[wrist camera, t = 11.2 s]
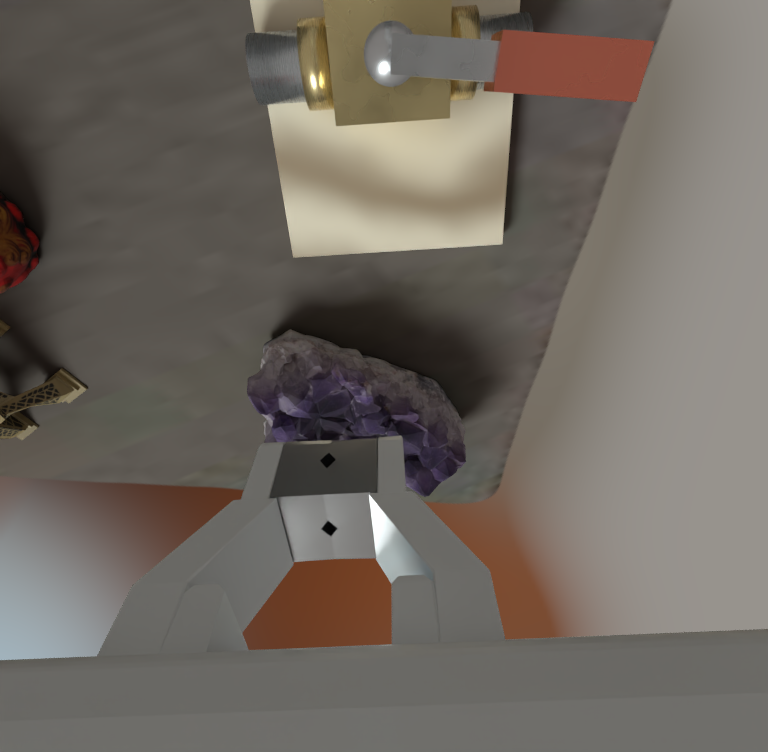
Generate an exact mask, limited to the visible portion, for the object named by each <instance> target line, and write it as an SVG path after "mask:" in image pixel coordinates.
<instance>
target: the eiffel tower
mask: <svg viewBox="0 0 768 752" xmlns="http://www.w3.org/2000/svg"><path fill="white" fill-rule="evenodd" d="M10 328H11V327H10V326H8V325H7V324H6V323H4V322H3V321H2V320H1V319H0V337H1V336H2V335H3V334H4V333H5V332H6V331H7V330H9V329H10ZM87 389H88V388H87V387H86V386H85V385H83V384H82V383H81V382H80V381H78V380H77V379H76V378H74V377H73V376H72V375H71V374H69V373H68V372H67V371H66V370H64V369H63V368H62V369H60V370H59V371H58V372H57V373H56V374H54V375H53V376H52V377H51V378H50V379H48V380H47V381H46V382H45V383H44V384H42V385H40V386H38V387H35V388H33V389H31V390H29V391H26V392H24V393H22V394H20V395H17V396H15V397H14V396H11V395H7V394H5V393H2V392H0V439H9V438H13V437H15V436H16V437H18V438H19V439H20V440H23V439H24V438H26V437H27V436H28V435H29V434H31V433H32V432H33V431H35V430H36V429H37V428H38V427H39V426H38V425H37V424H35V423H34V422H32V421H31V420H30V419H28V418H27V417H25V416H24V415H23V414H21V413H20V412H18V411H21V410H23V409H26V408H28V407H31V406H39V405H47V404H56V403H60V402H61V401H62V402H64V401H66V402H68V403H70V402H71V401H73V400H74V399H75V398H76V397H78V396H79V395H80V394H82V393H83V392H84V391H85V390H87Z"/></svg>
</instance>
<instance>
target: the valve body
mask: <svg viewBox="0 0 768 752" xmlns="http://www.w3.org/2000/svg"><path fill="white" fill-rule="evenodd" d="M323 5H324V15H325V16H322V17H309V18H298V20H297V30H285V31H271V32H258V33H248V34H247V36H246V58H247V65H248V71H249V76H250V80H251V84H252V88H253V91H254V94H255V97H256V99H257V101H258V103H259V104H260V105H272V104H286V103H300V102H307V106H308V108H309V110H310V111H319V110H333V109H334V112H335V122H336V126H348V125H362V124H376V123H390V122H405V121H419V120H433V119H447V118H450V101H459V100H472V99H473V98H474V96H475V92H476V90H480V89H484V83H485V82H477V81H463V80H449V79H435V78H421V77H410V78H409V79H408V80H407V81H406V82H404V83H403V84H401V85H398V86H394V87H388V86H383V85H381V84H379V83H377V82H376V81H375V80H374V79H373V78H372V77H371V76H370V74H369V73H368V71H367V68H366V66H365V62H364V46H365V42H366V39H367V37H368V35H369V33H370V32H371V31H372V29H373V28H374V27H375V26H377V25H378V24H380V23H382V22H384V21H389V20H393V21H398V22H401V23H403V24H404V25H406V26H407V27H408V28H409V29H410V30H411V32H412V33H413V34H414V35H427V36H441V37H454V38H467V39H480V40H491V36H492V35H493V34H495V33H497V32H499V31H501V30H515V31H528V32H533V21H532V16H531V14H530V13H529V12H521V13H507V14H494V15H481V16H479V11H478V7H477V5H465V6H452V0H323Z"/></svg>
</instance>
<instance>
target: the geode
mask: <svg viewBox="0 0 768 752" xmlns="http://www.w3.org/2000/svg"><path fill="white" fill-rule="evenodd" d="M263 353H264V355H263V357H262V359H261V370H260V371H259V372H258V373H257V374H255V375H253V376H251V377H249V378H248V387H247V394H248V397H249V399H250V401H251V403H252V404H253V406H254V408H255V409H256V410H257V412H258V413H260V414H262V415H263V416H264V417H265V418H266V421H265V422H264V426H265V429H264V434H265V436H266V439H265V442H264V443H274V442H295V441H328V440H349V439H366V438H379V437H387V436H402V438H403V450H404V466H405V482H406V486H408V487H409V488H411V489H413V490H414V491H416V492H417V493H418V494H420V495H422V496H424V497H426V496H429V495H430V494H431V493H432V492H433V490H434V489H435V488H436V487H437V486H438V485H439V484H440V483H441V482H442V481H444V480H446V479H447V478H449V477H450V476H452V475H453V474H454V473H456V471H457V469H458V468H461V467H462V465H463V464H464V463H465V462H466V460H465V459H466V454H465V445H464V444H463V441H464V434H465V427H464V426H463V424H462V423H461V418H460V417H459V415H458V412H457V408H456V407H455V406H454V404H453V403H452V402H451V400H450V399H449V398H448V396H447V395H446V393H445V392H444V390H443V388H442V387H441V385H440V384H439V383H438V382H437V381H436V380H434V379H432V378H429V377H425V376H422V375H420V374H419V373H416V372H413V371H410V370H407V369H404V368H401V367H398V366H395V365H392V364H389V363H388V362H386V361H385V360H381V359H377V358H374V357H371V356H362V355H361V354H360V352H359V351H358V350H357V349H350V348H340V347H339V346H337V345H336V344H334V343H332V342H329V341H326V340H323V339H320V338H317V337H314V336H309V335H303V334H301V333H298V332H296V331H293V330H291V329H290V330H288V331H286V332H285V333H283V334H282V335H280V336H279V337H277V338H274V339H272V340H270V341H268V342H267V343H266V344H264V347H263Z"/></svg>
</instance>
